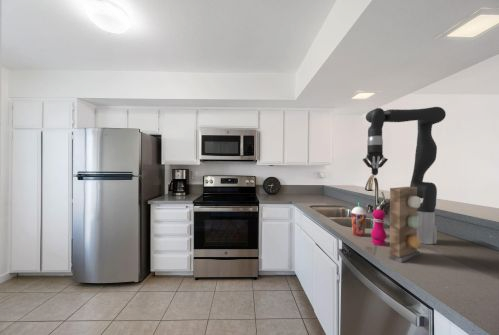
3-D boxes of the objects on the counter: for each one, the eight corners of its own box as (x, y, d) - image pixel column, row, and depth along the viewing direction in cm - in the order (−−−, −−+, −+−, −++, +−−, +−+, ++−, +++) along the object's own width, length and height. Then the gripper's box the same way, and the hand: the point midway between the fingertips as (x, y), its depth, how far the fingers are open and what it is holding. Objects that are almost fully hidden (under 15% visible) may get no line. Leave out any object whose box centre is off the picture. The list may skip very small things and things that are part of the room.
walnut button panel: (419, 254, 102) (420, 187, 102) (401, 262, 93) (401, 189, 93) (407, 251, 106) (408, 186, 106) (389, 258, 98) (389, 188, 97)
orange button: (420, 247, 97) (420, 236, 97) (414, 249, 94) (414, 238, 94) (412, 245, 99) (412, 234, 99) (407, 247, 97) (407, 236, 97)
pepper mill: (388, 246, 112) (389, 208, 112) (373, 245, 113) (374, 207, 113) (383, 241, 119) (383, 205, 119) (369, 240, 121) (369, 205, 120)
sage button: (420, 227, 96) (420, 216, 96) (415, 229, 94) (415, 217, 94) (412, 225, 99) (412, 215, 99) (407, 227, 97) (407, 216, 97)
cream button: (420, 207, 96) (420, 196, 96) (415, 208, 94) (415, 197, 94) (412, 206, 99) (412, 195, 99) (407, 207, 97) (407, 196, 97)
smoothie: (365, 237, 125) (365, 203, 125) (350, 235, 130) (350, 202, 130) (366, 234, 132) (366, 201, 132) (351, 231, 137) (351, 200, 137)
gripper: (384, 145, 124) (384, 174, 124) (360, 145, 127) (360, 174, 127) (390, 143, 117) (390, 175, 117) (364, 144, 119) (364, 175, 119)
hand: (374, 175), depth 122 cm, fingers closed
